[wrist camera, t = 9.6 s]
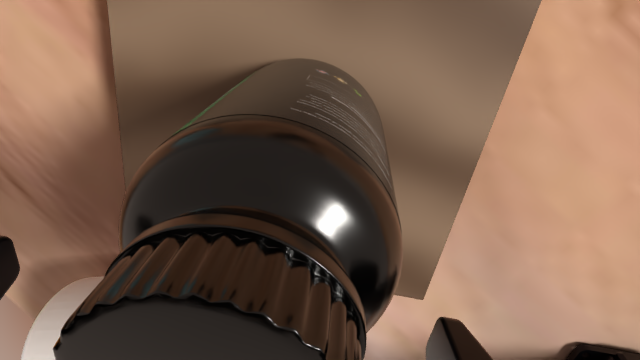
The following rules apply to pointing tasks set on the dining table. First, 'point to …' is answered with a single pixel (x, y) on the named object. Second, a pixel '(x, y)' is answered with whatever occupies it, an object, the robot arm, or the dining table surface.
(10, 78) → the dining table surface
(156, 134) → the walnut board
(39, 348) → the mug
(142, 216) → the supplement bottle
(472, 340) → the robot arm
